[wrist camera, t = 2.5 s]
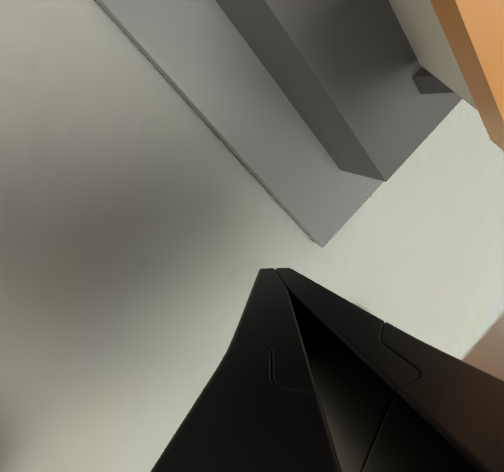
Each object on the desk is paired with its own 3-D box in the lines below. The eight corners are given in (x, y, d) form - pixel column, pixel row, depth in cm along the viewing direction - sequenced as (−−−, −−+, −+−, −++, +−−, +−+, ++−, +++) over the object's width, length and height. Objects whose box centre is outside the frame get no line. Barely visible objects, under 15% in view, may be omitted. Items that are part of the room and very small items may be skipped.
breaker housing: (314, 242, 25) (387, 286, 19) (89, -7, 16) (88, -75, 10) (490, 51, 26) (615, 34, 20) (364, -284, 17) (518, -502, 11)
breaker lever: (414, 73, 18) (521, 167, 11) (359, -37, 15) (450, -12, 8) (461, 41, 17) (612, 119, 10) (410, -82, 14) (566, -99, 7)
